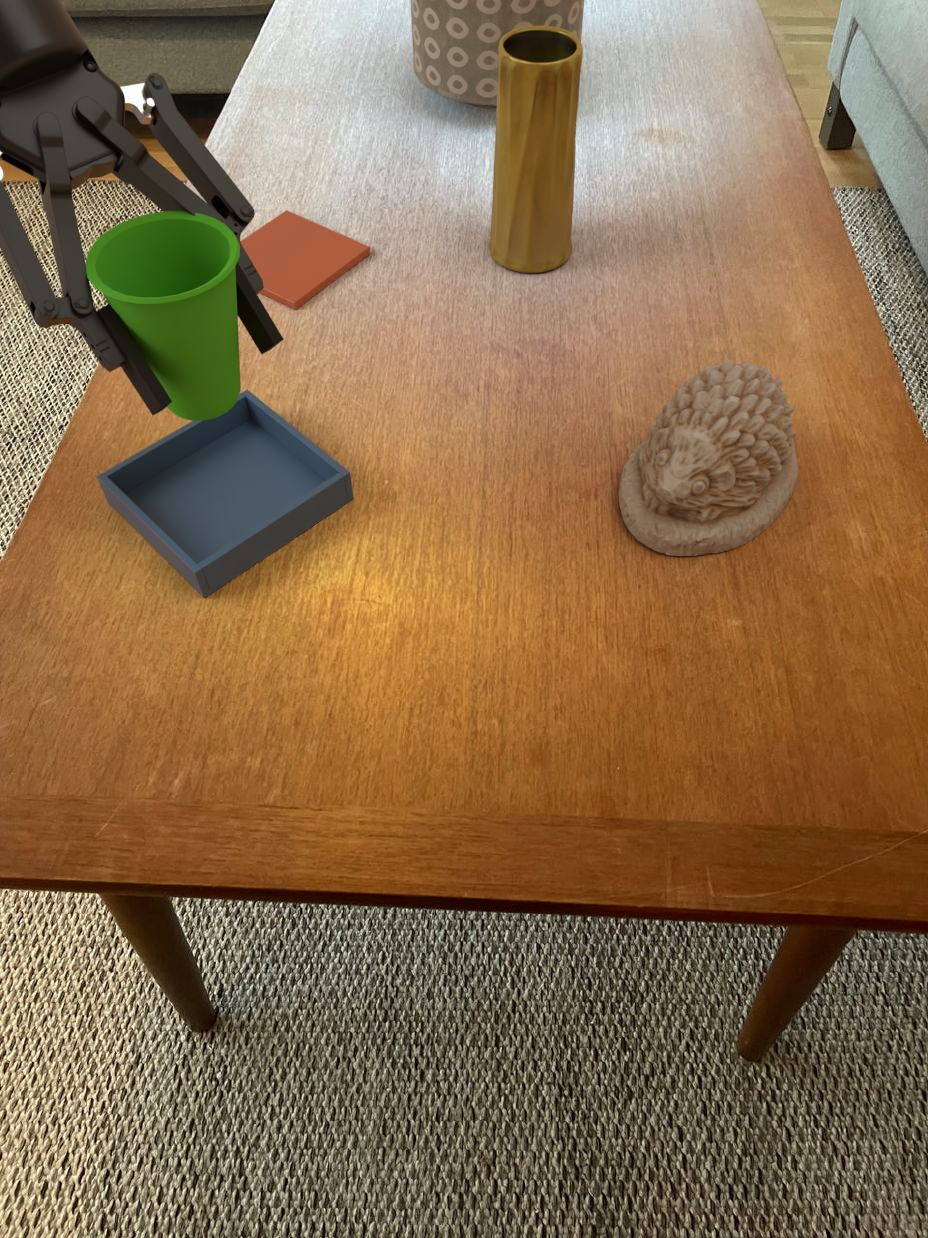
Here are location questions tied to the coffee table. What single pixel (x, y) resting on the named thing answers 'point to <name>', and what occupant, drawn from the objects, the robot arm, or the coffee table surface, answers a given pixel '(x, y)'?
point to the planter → (476, 41)
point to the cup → (176, 303)
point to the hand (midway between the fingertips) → (218, 376)
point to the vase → (535, 148)
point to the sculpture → (712, 464)
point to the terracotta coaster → (300, 257)
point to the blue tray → (226, 492)
